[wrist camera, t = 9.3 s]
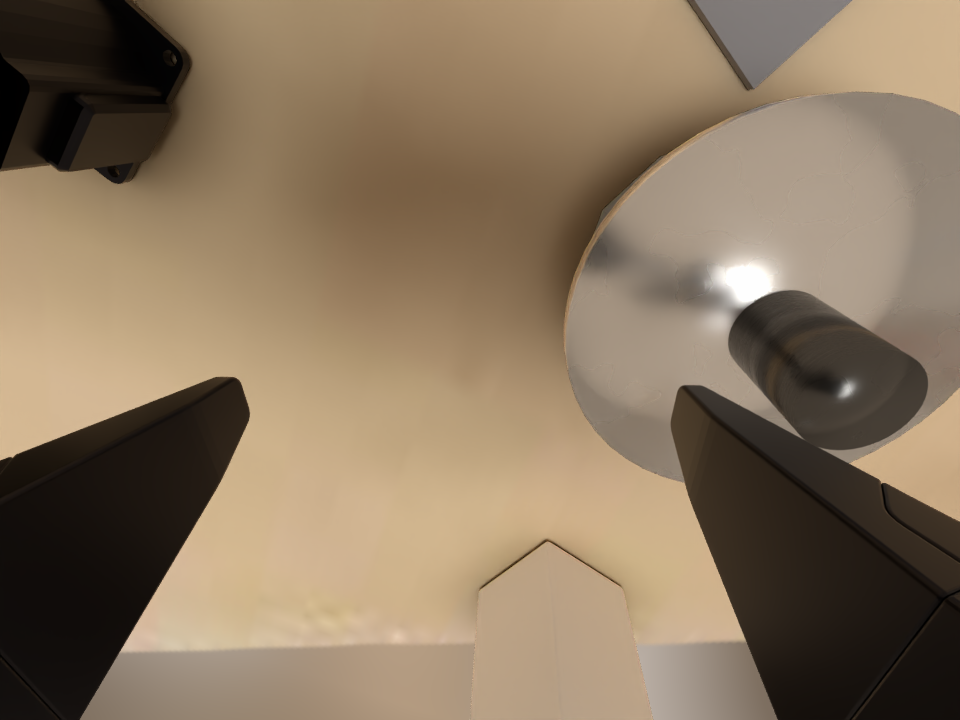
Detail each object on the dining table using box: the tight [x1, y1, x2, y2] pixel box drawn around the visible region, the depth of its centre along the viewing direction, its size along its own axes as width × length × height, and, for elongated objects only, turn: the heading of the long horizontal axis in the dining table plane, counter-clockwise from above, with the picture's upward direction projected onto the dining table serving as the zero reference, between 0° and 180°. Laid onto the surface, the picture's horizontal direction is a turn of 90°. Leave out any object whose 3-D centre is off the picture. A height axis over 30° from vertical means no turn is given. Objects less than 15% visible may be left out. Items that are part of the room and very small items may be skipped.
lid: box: [564, 92, 960, 483], centre depth 13 cm, size 14×14×5 cm
